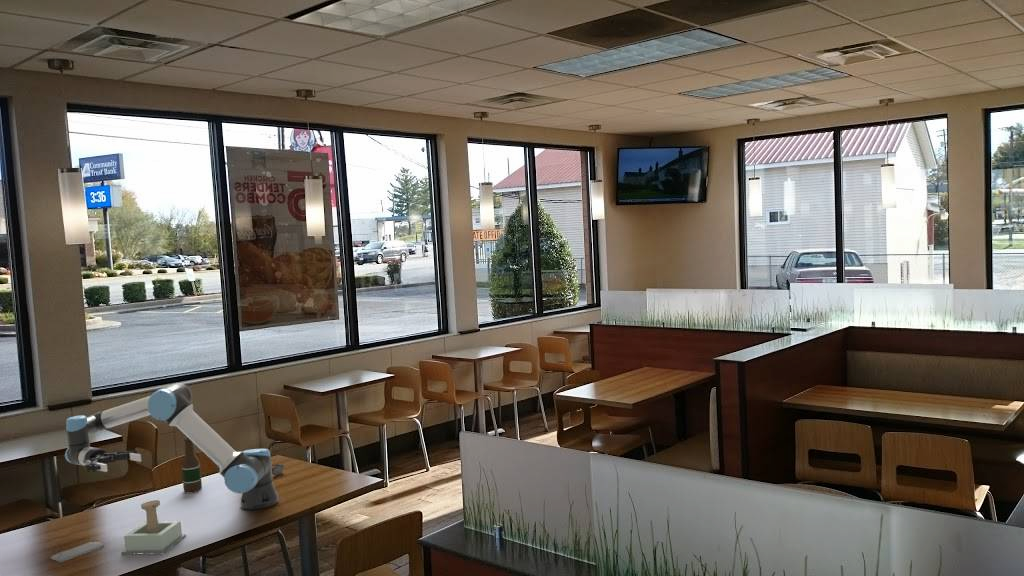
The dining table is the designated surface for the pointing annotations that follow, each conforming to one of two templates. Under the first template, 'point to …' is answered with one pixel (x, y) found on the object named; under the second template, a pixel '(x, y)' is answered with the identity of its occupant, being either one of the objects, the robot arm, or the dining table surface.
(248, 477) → the robot arm
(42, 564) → the dining table surface
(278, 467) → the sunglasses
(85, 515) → the dining table surface
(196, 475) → the beer bottle
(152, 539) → the holder
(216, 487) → the dining table surface
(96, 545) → the phone
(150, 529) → the handle
